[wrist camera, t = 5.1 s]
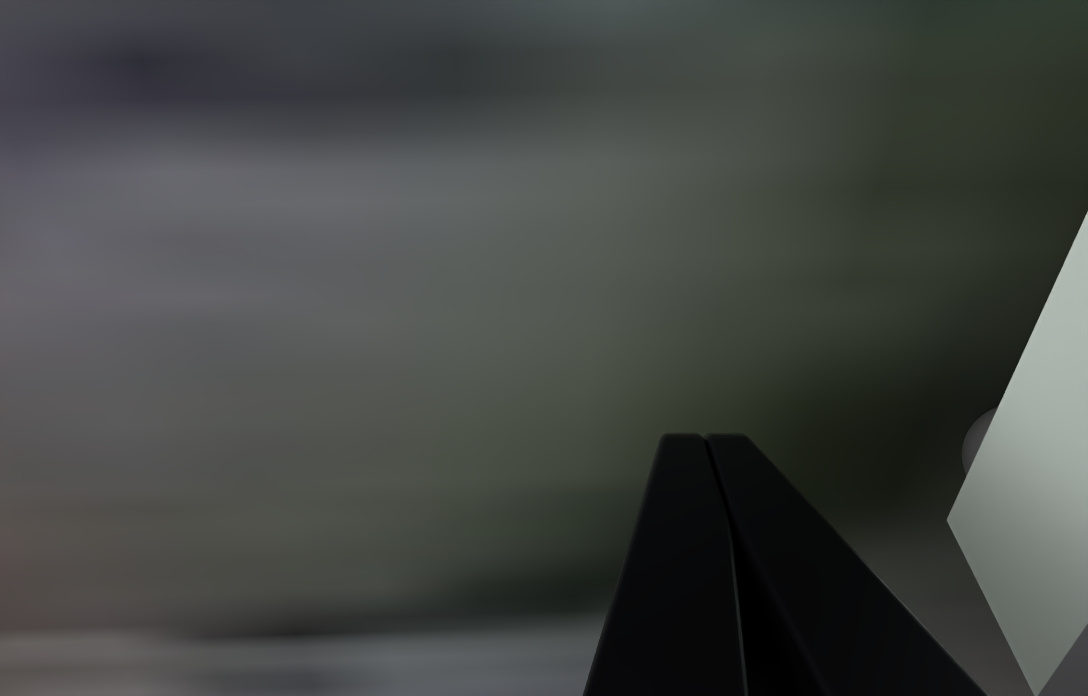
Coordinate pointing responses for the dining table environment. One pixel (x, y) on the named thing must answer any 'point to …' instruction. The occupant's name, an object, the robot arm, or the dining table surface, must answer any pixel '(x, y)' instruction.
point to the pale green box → (1037, 493)
